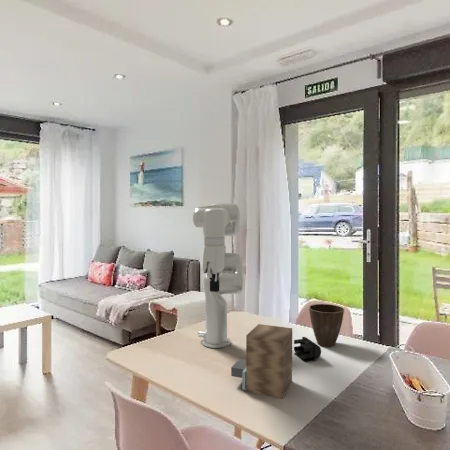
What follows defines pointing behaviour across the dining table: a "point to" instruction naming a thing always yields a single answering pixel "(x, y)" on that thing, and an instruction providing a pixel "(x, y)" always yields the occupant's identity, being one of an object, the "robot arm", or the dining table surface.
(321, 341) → the plant pot
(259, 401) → the dining table surface
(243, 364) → the tray
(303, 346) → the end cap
